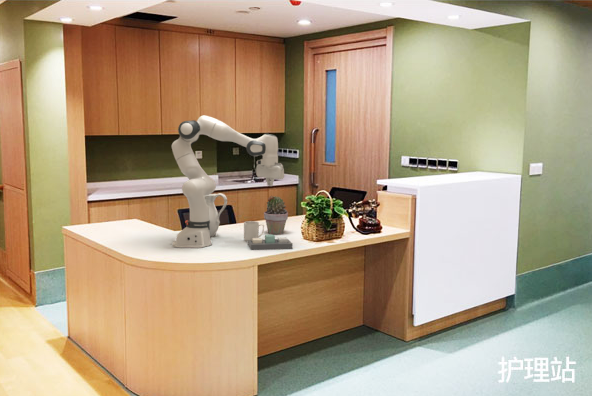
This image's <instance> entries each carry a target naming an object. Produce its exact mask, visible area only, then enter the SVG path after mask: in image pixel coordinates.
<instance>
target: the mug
mask: <svg viewBox="0 0 592 396" xmlns="http://www.w3.org/2000/svg"><path fill="white" fill-rule="evenodd" d="M260 226H262V232H261V234H259V227H260ZM264 227H265V225H264V224H261V223H259V222H258V221H255V220H254V221H253V220H249V221H248V220H247V221H244V222H243V239H244V241H245V242H247V241H248V240H252V238H261V236H263V235H264V231H265V228H264Z"/></svg>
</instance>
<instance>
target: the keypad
mask: <svg viewBox="0 0 592 396" xmlns="http://www.w3.org/2000/svg"><path fill="white" fill-rule="evenodd" d="M247 247H248V248H249V249H250V251H261V250H262V251H263V250H264V251H267V250H293V242H291V240H290V239H288V242H287V243H278V238H275V243H266V242H265V239H262V243H252V240H248V242H247Z"/></svg>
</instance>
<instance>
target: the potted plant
mask: <svg viewBox="0 0 592 396" xmlns="http://www.w3.org/2000/svg"><path fill="white" fill-rule="evenodd" d="M267 201H268V202H266V204H265V205H264V206H263V207H266V211H264V212H263V218H264V221H265V223H266V228H267V233H268V235H283V234H284V231H285V227H286V223H287V220H288V216H289V211H288V210H287V209H286V208H287V205H285V204H286V202H285V201H284V200H283V199H282V197H281V196H274V195H270V196H269V197H268V198H267Z"/></svg>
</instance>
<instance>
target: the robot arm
mask: <svg viewBox="0 0 592 396" xmlns="http://www.w3.org/2000/svg"><path fill="white" fill-rule="evenodd" d="M177 131H178V135H179V137H178V139H176V140H174V141H173V142H172V144H171V149H172V150H171V151H172V154H173V157H174V159H175V162H176V164H177V165H178V168H179V170H180V172H181V174H183V175H184V176H185V177H186V178H187V179H188V180H187V181H185V182H184V183H183V185H182V187H181V191H182V193H183V196H185V197H186V199H187V202H188V206H189V207H188V208H189V219H187V220H185V221H184V223H185V226H186V227H184V228H183V229H182V230H181V231H179V232H178V233H177V235H176V239H175V240H174V241H172V247H174V248H181V249H182V248H183V249H184V248H191V249H194V248H195V249H203V248H205V247H210V246H211V245H212V244H213V243H212V240H211V237H210V231H209V230H210V220H209V207H208V205H207V204H206V202H205V197H204V196H206V195H209V194H213V193H214V192H215V190H216V187H217V184H216V181H215V180H214V178H212V177H210V176H209V175H208V174H207V173H206V171H205V170H204V169H203V168H202V167H201V165H200V163H199V161H198V159H197V156H196V154H195V153H194V151H193V149H192V146H193V145H194V144H195V143H196V142H197V141H198V140H199V139H200V136H201V135H204V136H208V137H209V138H212V139H213V140H215V141H216V140H217V141H220V142H233V143H236V144H238V145H239V146H241V147H245V148H246V152H247V153H248V154H249V156H251V157H258V156H262V158H261V159H258V160H257V161H256V168H255V170H256V171H255V173H256V176H257V177H258V178H265V181H266V185H267V186H269V187H273V185H274V182H275V180H284V178H285V169H284V164H283V163H281V162H279V155H278V151H279V142H278V141H279V140H278V137H277V136H276V135H275V134H272V133H271V134H269V133H264V134H263V135H262V136H260V137H257V138H252V137H249V136H247V135H245V134H243V133H241V132H238V131H237V130H236V129H234V128H232V127H231V126H230V125H228V124H227V123H225V122H224V121H222V120H220V119H217V118H215V117H212V116H210V115H204V114H203V115H201V116H199V117H198V119H197V120H196V119H194V120H185V121H182V122H181V123H179V125H178V128H177Z"/></svg>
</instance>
